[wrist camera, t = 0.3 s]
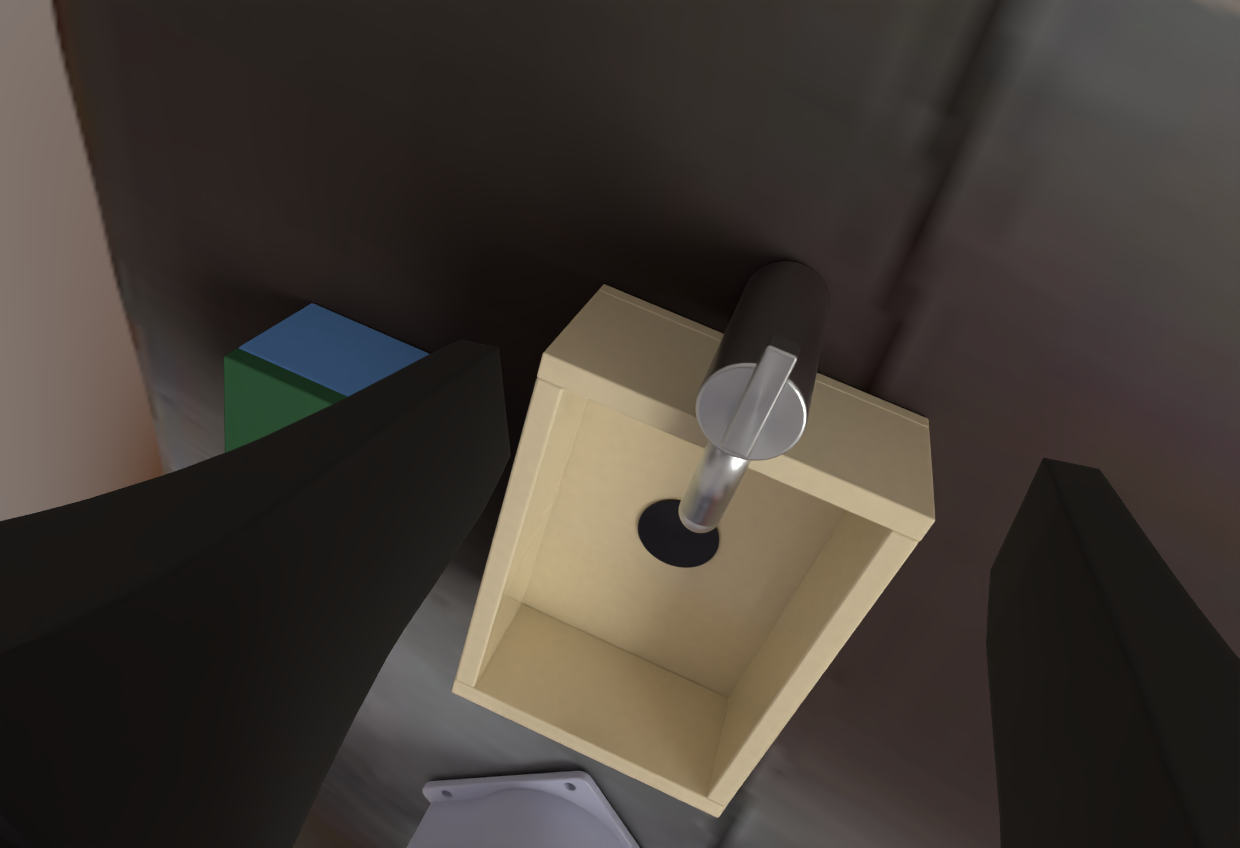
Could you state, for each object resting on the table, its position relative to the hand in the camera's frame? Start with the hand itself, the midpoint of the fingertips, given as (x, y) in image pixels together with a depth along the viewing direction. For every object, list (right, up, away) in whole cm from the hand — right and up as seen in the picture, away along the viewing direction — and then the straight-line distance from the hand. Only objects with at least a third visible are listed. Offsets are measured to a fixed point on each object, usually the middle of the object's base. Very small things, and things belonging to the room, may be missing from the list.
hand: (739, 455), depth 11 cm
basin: (0, -3, +14) cm, 14 cm away
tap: (+2, +1, +12) cm, 12 cm away
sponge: (-9, +1, +15) cm, 18 cm away
